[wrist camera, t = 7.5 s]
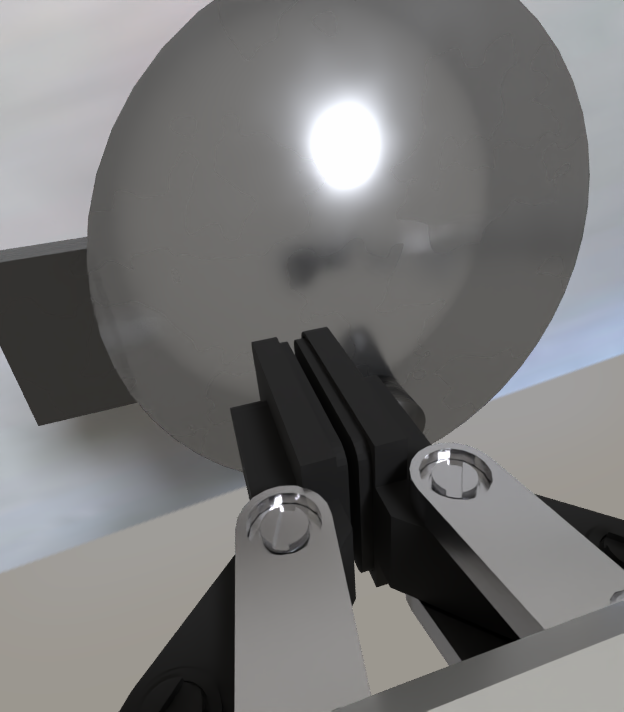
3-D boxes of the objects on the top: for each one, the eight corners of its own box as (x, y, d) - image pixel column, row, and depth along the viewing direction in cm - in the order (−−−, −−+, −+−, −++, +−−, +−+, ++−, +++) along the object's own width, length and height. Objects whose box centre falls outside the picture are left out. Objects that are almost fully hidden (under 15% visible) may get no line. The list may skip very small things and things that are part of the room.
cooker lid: (612, -53, 14) (714, -82, 12) (524, 403, 23) (572, 442, 20) (-154, -32, 10) (-252, -73, 7) (101, 528, 18) (96, 596, 16)
